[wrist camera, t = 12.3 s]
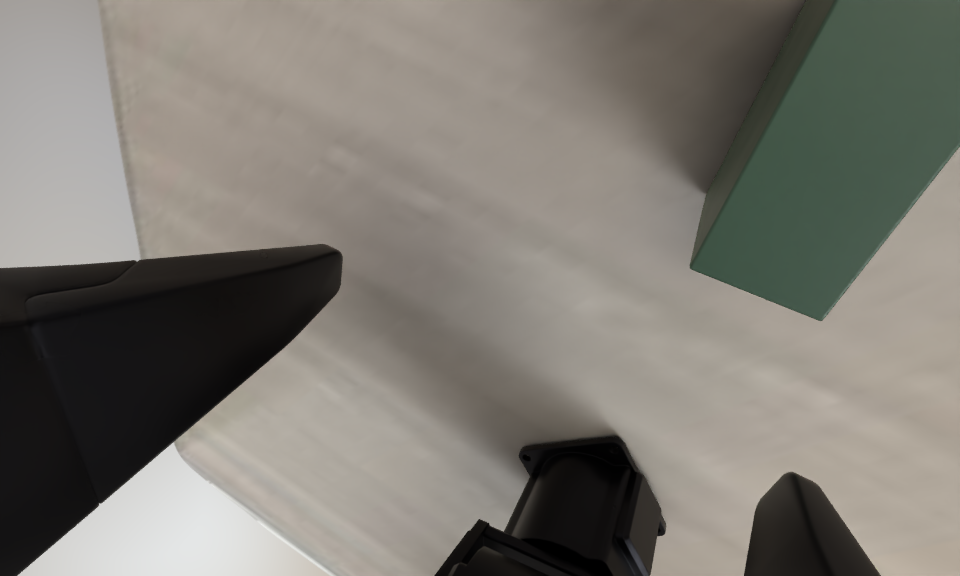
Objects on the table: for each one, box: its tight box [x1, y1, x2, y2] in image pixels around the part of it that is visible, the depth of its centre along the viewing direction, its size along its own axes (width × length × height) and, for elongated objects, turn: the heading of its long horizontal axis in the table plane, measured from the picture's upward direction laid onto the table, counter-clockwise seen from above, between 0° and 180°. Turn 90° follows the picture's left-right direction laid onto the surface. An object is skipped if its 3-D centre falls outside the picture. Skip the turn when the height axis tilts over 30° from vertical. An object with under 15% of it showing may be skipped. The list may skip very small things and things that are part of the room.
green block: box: [690, 0, 960, 321], centre depth 13 cm, size 7×3×7 cm, turn 166°
